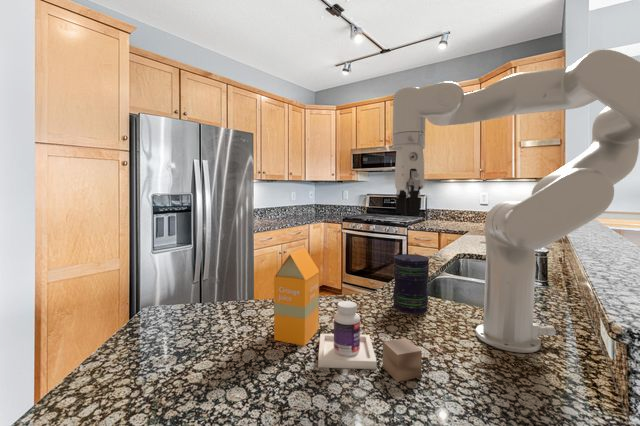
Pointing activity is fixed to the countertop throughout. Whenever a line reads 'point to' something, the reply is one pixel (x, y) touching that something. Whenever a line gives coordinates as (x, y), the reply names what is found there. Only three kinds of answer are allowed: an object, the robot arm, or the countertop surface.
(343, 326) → the pill bottle
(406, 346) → the walnut block
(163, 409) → the countertop surface
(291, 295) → the orange juice
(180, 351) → the countertop surface
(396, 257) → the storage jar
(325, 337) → the tray
